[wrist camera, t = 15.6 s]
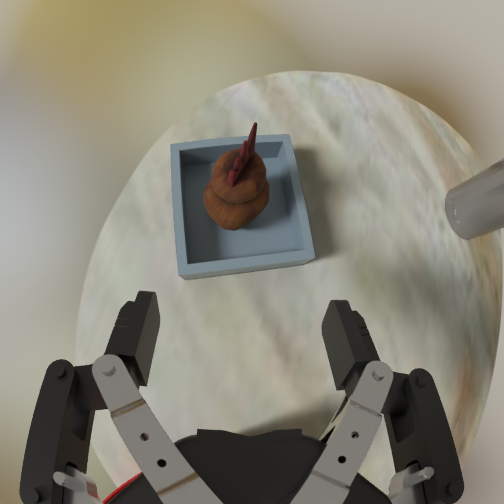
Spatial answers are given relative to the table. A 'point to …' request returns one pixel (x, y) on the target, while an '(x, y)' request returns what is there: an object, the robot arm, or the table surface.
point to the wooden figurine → (237, 186)
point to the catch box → (253, 234)
